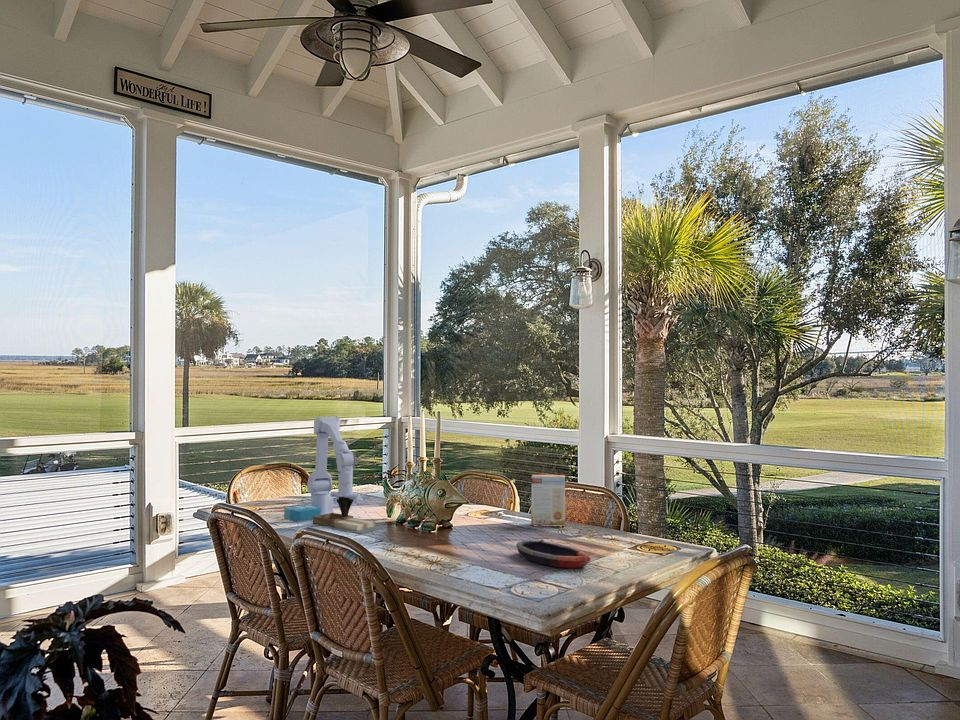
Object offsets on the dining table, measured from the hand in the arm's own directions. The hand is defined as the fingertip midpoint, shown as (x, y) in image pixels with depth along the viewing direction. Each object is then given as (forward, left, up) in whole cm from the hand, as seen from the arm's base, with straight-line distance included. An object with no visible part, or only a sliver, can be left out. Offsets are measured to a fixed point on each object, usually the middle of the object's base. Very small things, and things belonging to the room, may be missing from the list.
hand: (344, 516), depth 300 cm
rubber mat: (0, +8, -4) cm, 9 cm away
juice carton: (-27, +19, -4) cm, 33 cm away
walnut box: (0, -7, -4) cm, 8 cm away
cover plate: (0, +6, -3) cm, 7 cm away
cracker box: (-50, +67, -4) cm, 84 cm away
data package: (+6, -26, -2) cm, 26 cm away
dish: (+2, +95, -4) cm, 95 cm away
